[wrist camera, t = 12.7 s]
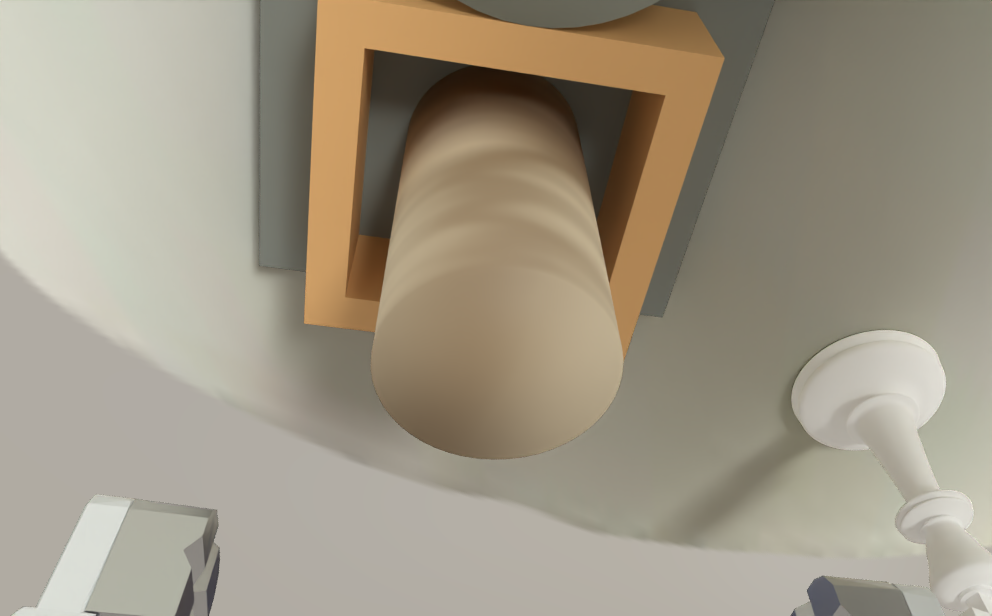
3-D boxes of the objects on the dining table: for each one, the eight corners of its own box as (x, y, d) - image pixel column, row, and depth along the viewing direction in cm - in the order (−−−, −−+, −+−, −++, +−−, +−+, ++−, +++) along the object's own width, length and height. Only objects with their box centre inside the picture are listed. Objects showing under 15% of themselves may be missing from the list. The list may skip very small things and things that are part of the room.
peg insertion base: (895, -397, 17) (992, -411, 14) (657, 298, 27) (680, 383, 24) (273, -538, 16) (219, -591, 12) (266, 246, 26) (235, 330, 22)
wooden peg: (596, 78, 22) (652, 286, 14) (559, 230, 24) (591, 470, 17) (416, 49, 21) (381, 249, 14) (399, 208, 24) (361, 445, 16)
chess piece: (857, 307, 27) (1014, 575, 19) (972, 361, 29) (1163, 631, 21) (761, 410, 30) (863, 683, 22) (870, 454, 31) (1005, 726, 23)
